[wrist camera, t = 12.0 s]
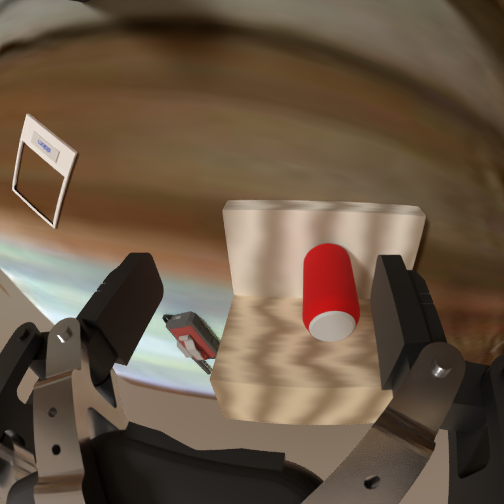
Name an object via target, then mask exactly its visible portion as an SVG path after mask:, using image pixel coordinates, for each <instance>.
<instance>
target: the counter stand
mask: <svg viewBox="0 0 504 504" xmlns="http://www.w3.org/2000/svg"><path fill="white" fill-rule="evenodd" d="M223 218H224V226H225V233H226V241H227V248H228V256H229V263H230V270H231V277H232V284H233V291H234V297H233V300H232V304H231V307H230V311H229V314H228V318H227V321H226V325H225V328H224V332H223V335H222V338H221V342H220V345H219V349H218V352H217V356H216V359H215V363H214V366H213V370H212V373H211V377H210V382H211V384H212V387H213V390H214V392H215V395H216V397H217V400H218V402H219V405H220V407H221V410H222V413H223V415H224V417H225V418H230V419H238V420H246V421H255V422H266V423H280V424H302V425H304V424H305V425H342V424H363V423H375V422H376V420H377V419H378V418H379V416H380V415H381V414H382V413H383V411H384V410H385V409H386V407H387V406H388V404H389V403H390V401H391V400H392V398H393V393H392V390H382V389H381V379H380V369H379V360H378V352H377V345H376V338H375V331H374V325H373V318H372V312H371V305H370V295H371V288H372V283H373V278H374V272H375V267H376V261H377V257H378V255H401V256H402V259H403V261H404V264H405V266H406V269H407V270H412V268H413V265H414V262H415V258H416V255H417V251H418V247H419V243H420V239H421V235H422V231H423V227H424V223H425V218H426V216H425V214H424V213H423V212H422V211H421V209H420V208H419V207H418V206H408V205H394V204H378V203H359V202H336V201H299V200H228V201H227V203H226V205H225V206H224V208H223ZM322 243H335V244H338V245H340V246H342V247H343V248H344V249H345V250H346V251H347V253H348V254H349V257H350V260H351V265H352V270H353V274H354V279H355V284H356V290H357V295H358V300H359V306H360V319H359V322H358V324H357V326H356V327H355V329H354V331H353V332H352V333H351V334H350V335H349V336H348V337H346V338H344V339H342V340H339V341H334V342H325V341H320V340H318V339H316V338H314V337H313V336H312V335H311V334H310V333H309V332H308V330H307V329H306V327H305V326H304V323H303V319H302V309H303V262H304V258H305V256H306V254H307V253H308V252H309V251H310V250H311V249H312V248H313V247H315V246H317V245H319V244H322Z"/></svg>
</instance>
